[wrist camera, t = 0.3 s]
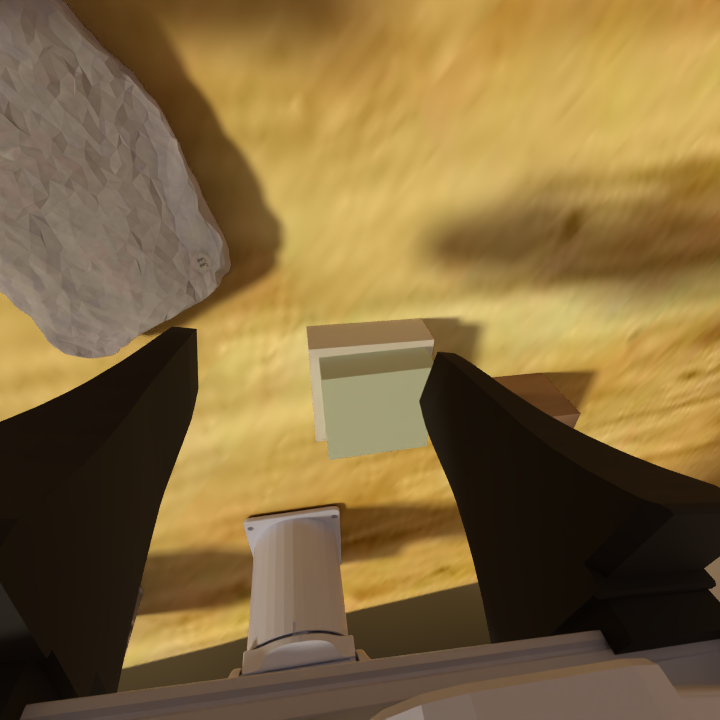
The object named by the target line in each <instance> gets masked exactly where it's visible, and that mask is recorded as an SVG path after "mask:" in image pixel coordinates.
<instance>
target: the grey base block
mask: <svg viewBox="0 0 720 720" xmlns="http://www.w3.org/2000/svg"><path fill="white" fill-rule="evenodd" d="M306 327H307V339H308V352H309V364H310V376H311V389H312V401H313V413H314V424H315V435H316V441H324V440H326V431H325V421H324V410H323V399H322V389H321V378H320V367H319V358H321V357H330V356H340V355H349V354H359V353H368V352H378V351H387V350H397V349H406V348H416V347H426V349H427V351H428V353H429V354H430V356H431V358H432V353H433V346H434V338H433V337H432V335H431V333H430V332H429V330H428V329H427V327H426V326H425V324H424V323H423V321H422V319H421V318H419V319H405V320H391V321H377V322H363V323H349V324H335V325H321V326H306Z"/></svg>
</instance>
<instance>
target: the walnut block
mask: <svg viewBox="0 0 720 720" xmlns="http://www.w3.org/2000/svg"><path fill="white" fill-rule="evenodd" d="M493 379H495V380H496V381H497V382H499V383H500V384H502V385H503V386H505V387H506V388H507V389H509V390H510V391H512V392H513V393H515V394H516V395H518V396H519V397H521V398H522V399H524V400H525V401H527V402H529V403H530V404H532V405H533V406H535V407H536V408H538V409H540V410H541V411H543V412H545V413H546V414H548V415H550V416H551V417H553V418H555V419H557V420H559V421H560V422H562V423H564V424H566V425H568V426H570V427H571V428H573V429H574V426H575V424H576V422H577V420H578V418H579V416H580V414H581V413H580V412H579V411H578V410H577V409H576V408H575V407H574V406H573V405H572V404H571V403H570V402H569V401H568V400H567V399H566V398H565V397H564V396H563V395H562V394H561V393H560V392H559V390H558V389H557V388H556V387H555V386H554V385H553V384H552V383H551V382H550V381H549V380H548V379H547V378H546V377H545V376H544V375H543V374H542V373H534V374H523V375H513V376H503V377H493Z"/></svg>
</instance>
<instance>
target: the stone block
mask: <svg viewBox="0 0 720 720" xmlns="http://www.w3.org/2000/svg"><path fill="white" fill-rule="evenodd" d="M230 267H231V261H230V256H229V248H228V244H227V242H226V240H225V237H224V235H223V233H222V231H221V229H220V227H219V226H218V224H217V222H216V220H215V218H214V216H213V215H212V213H211V211H210V209H209V207H208V205H207V203H206V201H205V199H204V198H203V196H202V192H201V189H200V186H199V183H198V181H197V179H196V177H195V176H194V175H193V173H192V172H191V170H190V168H189V166H188V164H187V161H186V159H185V157H184V154H183V152H182V149H181V145H180V143H179V142H178V140H177V139H176V137H175V135H174V133H173V131H172V129H171V127H170V125H169V124H168V122H167V120H166V118H165V116H164V114H163V112H162V110H161V108H160V107H159V105H158V104H157V102H156V101H155V100H154V99H153V98H152V97H151V95H149V94H148V93H147V92H146V91H145V89H144V87H143V85H142V84H141V83H140V82H139V80H138V79H137V78H136V76H135V74H134V73H133V72H132V71H130V70H129V69H128V68H127V67H126V66H124V65H123V64H122V63H121V62H120V61H119V60H118V59H117V58H116V57H114V56H113V55H112V54H111V53H109V52H108V51H107V50H106V49H105V48H104V47H102V46H101V44H100V43H99V42H98V40H97V39H96V38H95V37H94V36H93V35H92V33H91V32H90V31H89V30H88V29H87V28H86V27H85V26H84V25H83V24H82V23H81V22H80V20H79V19H78V18H77V17H76V16H75V15H74V13H73V12H72V11H71V10H70V8H69V6H68V5H67V4H66V3H65V2H64V1H63V0H0V292H2V293H3V294H4V295H6V296H7V297H8V298H9V299H10V301H11V302H12V303H13V304H14V305H15V306H16V307H17V308H18V309H20V310H21V311H23V312H24V313H26V314H27V315H29V316H30V317H31V318H32V319H33V321H34V322H35V323H36V325H37V326H38V327H39V329H40V330H41V331H42V333H43V334H44V336H45V337H46V339H47V340H48V341H49V342H50V343H51V344H52V345H53V346H54V347H55V348H57V349H59V350H60V351H62V352H63V353H65V354H68V355H72V356H77V357H83V358H99V357H105V356H111V355H114V354H116V353H118V351H119V350H120V348H122V347H124V346H126V345H128V344H129V343H130V342H131V340H133V339H134V338H136V337H137V336H139V335H141V334H143V333H145V332H147V331H148V330H150V329H152V328H154V327H156V326H157V325H159V324H161V323H163V322H165V321H167V320H170V319H172V318H173V317H175V316H176V315H178V314H179V313H181V312H182V311H184V310H186V309H188V308H190V307H192V306H194V305H195V304H197V303H199V302H201V301H203V300H204V299H206V298H207V297H208V296H209V295H211V294H212V293H213V292H214V291H215V290H216V289H217V288H218V287H219V286H220V284H221V280H222V278H223V276H224V275H225V274H226V273H227V272H229V271H230Z"/></svg>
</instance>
